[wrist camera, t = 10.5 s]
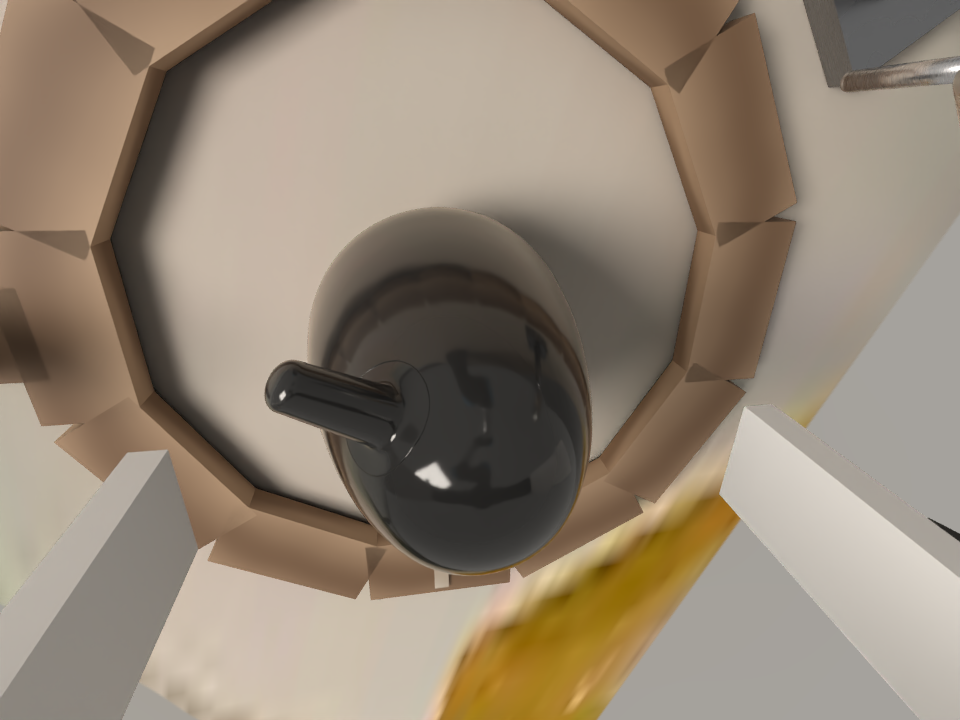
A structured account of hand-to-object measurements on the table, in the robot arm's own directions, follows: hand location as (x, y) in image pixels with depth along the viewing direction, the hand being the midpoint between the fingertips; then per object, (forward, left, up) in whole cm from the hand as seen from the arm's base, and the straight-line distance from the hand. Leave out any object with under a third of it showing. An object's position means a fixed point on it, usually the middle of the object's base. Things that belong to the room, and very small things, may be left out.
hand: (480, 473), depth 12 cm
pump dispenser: (0, 0, -14) cm, 14 cm away
